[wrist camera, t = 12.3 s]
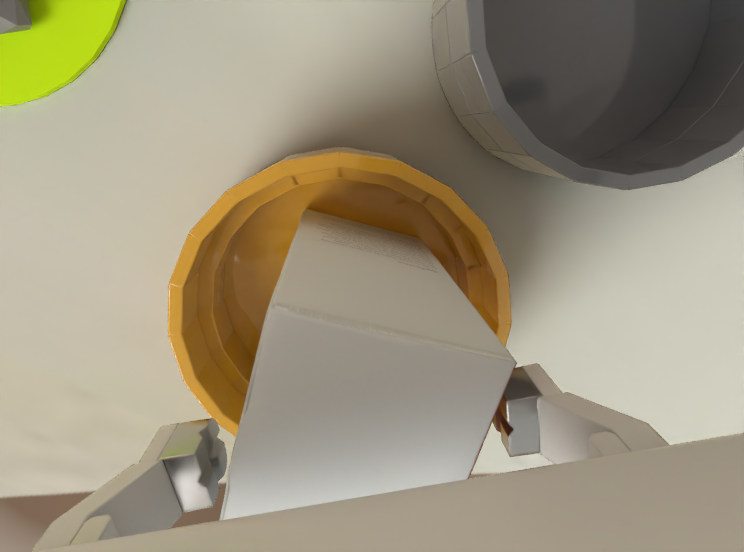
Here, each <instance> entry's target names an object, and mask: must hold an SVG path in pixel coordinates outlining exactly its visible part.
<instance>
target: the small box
mask: <svg viewBox="0 0 744 552" xmlns="http://www.w3.org/2000/svg"><path fill="white" fill-rule="evenodd" d="M516 364H517V363H516V361H515V359H514V358H513V356H512V355H511V354H510V353H509V351H508V350H507V349H506V347H505V346H504V345H503V344H502V342H501V341H500V340H499V339H498V337H497V336H496V335H495V333H494V332H493V331H492V329H491V328H490V327H489V325H488V324H487V323H486V322H485V320H484V319H483V318H482V316H481V315H480V314H479V312H478V311H477V310H476V309H475V307H474V306H473V305H472V304H471V302H470V301H469V300H468V299H467V297H466V296H465V294H464V293H463V292H462V291H461V289H460V288H459V287H458V286H457V284H456V283H455V282H454V280H453V279H452V278H451V276H450V275H449V274H448V273H447V271H446V270H445V269H444V267H443V266H442V265H441V263H440V262H439V261H438V260H437V258H436V257H435V256H434V255H433V253H432V252H431V251H430V249H429V248H428V247H427V246H426V244H425V243H424V242H423V241H422V239H420V238H417V237H413V236H409V235H405V234H401V233H397V232H393V231H389V230H386V229H382V228H378V227H374V226H370V225H366V224H363V223H359V222H355V221H351V220H347V219H343V218H340V217H336V216H332V215H328V214H324V213H321V212H317V211H313V210H309V209H305V210H304V211H303V214H302V217H301V220H300V223H299V225H298V228H297V231H296V234H295V236H294V238H293V241H292V243H291V246H290V249H289V252H288V255H287V257H286V260H285V263H284V266H283V269H282V271H281V274H280V277H279V279H278V282H277V285H276V287H275V290H274V293H273V295H272V298H271V301H270V304H269V307H268V310H267V313H266V317H265V321H264V325H263V329H262V333H261V337H260V341H259V345H258V349H257V354H256V358H255V362H254V366H253V370H252V374H251V378H250V383H249V387H248V391H247V395H246V399H245V403H244V407H243V411H242V416H241V420H240V424H239V428H238V432H237V436H236V440H235V444H234V447H233V452H232V456H231V461H230V465H229V469H228V475H227V484H226V491H225V496H224V501H223V506H222V511H221V516H220V520H225V519H231V518H237V517H243V516H249V515H255V514H261V513H267V512H273V511H279V510H285V509H291V508H297V507H303V506H309V505H315V504H321V503H327V502H333V501H339V500H345V499H351V498H357V497H363V496H369V495H375V494H381V493H387V492H393V491H399V490H405V489H411V488H417V487H423V486H429V485H435V484H441V483H447V482H453V481H459V480H464V479H469V477H470V475H471V472H472V470H473V467H474V465H475V463H476V460H477V458H478V455H479V453H480V450H481V448H482V445H483V442H484V440H485V438H486V436H487V433H488V431H489V428H490V426H491V423H492V421H493V418H494V416H495V413H496V411H497V409H498V406H499V404H500V402H501V399H502V397H503V394H504V392H505V390H506V387H507V385H508V382H509V380H510V377H511V375H512V372H513V370H514V368H515V366H516Z"/></svg>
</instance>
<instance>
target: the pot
mask: <svg viewBox="0 0 744 552" xmlns="http://www.w3.org/2000/svg"><path fill="white" fill-rule="evenodd" d="M432 46H433V53H434V59H435V65H436V70H437V74H438V77H439V80H440V84H441V87H442V90H443V92H444V94H445V96H446V99H447V101H448V103H449V106H450V107H451V109H452V111H453V112H454V115H456V118H457V119H458V120H459V122H460V123H461V124H462V126H463V127H464V128H465V129H466V131H467V132H468V133H469V134H470V135H471V136H472V137H473V138H474V139H475V140H476V141H477V142H478V143H479V144H480V145H481V146H482V147H483V148H484V149H485V150H487V151H488V152H490V153H492V154H494V155H495V156H496V157H498V158H500V159H502V160H504V161H506V162H508V163H510V164H512V165H514V166H515V167H517V168H519V169H523V170H527V171H531V172H535V173H540V174H544V175H548V176H552V177H556V178H561V179H565V180H569V181H573V182H577V183H584V184H590V185H596V186H603V187H609V188H615V189H621V190H632V189H637V188H643V187H649V186H655V185H661V184H666V183H672V182H678V181H682V180H684V179H686V178H688V177H690V176H692V175H694V174H696V173H698V172H700V171H703V170H705V169H707V168H709V167H711V166H713V165H715V164H717V163H719V162H721V161H723V160H725V159H727V158H729V157H731V156H733V155H734V154H735V153H737V152H738V151H739V150H740V149H741V148H742V147H744V0H434V2H433V13H432Z"/></svg>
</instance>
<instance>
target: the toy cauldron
mask: <svg viewBox="0 0 744 552" xmlns="http://www.w3.org/2000/svg"><path fill="white" fill-rule="evenodd" d="M125 2H126V0H0V106H12V105H18V104H22V103H25V102H29V101H32V100H35V99H39V98H42V97H46V96H48V95H50V94H51V93H53V92H55V91H57V90H58V89H60V88H62V87H64V86H65V85H67V84H69V83H71V82H73V81H74V80H75V79H76V78H77V77H78V76H79V75H80V74H81V73H82V72H84V71H85V70H86V69H87V68H88V67H89V66H90V65H91V64H92V63H93V62H94V61H95V60H96V59H97V58H98V56H99V55H100V53H101V52H102V50H103V49H104V47H105V46H106V44H107V43H108V41H109V39H110V38H111V36H112V35H113V33H114V32H115V29H116V27H117V24H118V21H119V18H120V16H121V13H122V10H123V8H124V5H125Z"/></svg>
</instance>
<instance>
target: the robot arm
mask: <svg viewBox="0 0 744 552" xmlns="http://www.w3.org/2000/svg"><path fill="white" fill-rule="evenodd" d="M493 424H494V426H495V428H496V430H497V431H499V432H501V438H502V442H503V444H504V446H505V448H506V450H507V452H508V454H509V456H510V457H514V456H521V455H528V454H535V453H540V454H541V455H542V456H544V457H545V458H547V459H548V460H550V461H551V462H553V463H554V465H548V466H542V467H536V468H530V469H524V470H518V471H512V472H506V473H500V474H494V475H488V476H482V477H476V478H471V479H464V480H459V481H453V482H447V483H441V484H435V485H429V486H423V487H417V488H411V489H405V490H399V491H393V492H387V493H381V494H375V495H369V496H363V497H357V498H351V499H345V500H339V501H333V502H327V503H321V504H315V505H309V506H303V507H297V508H291V509H285V510H279V511H273V512H267V513H261V514H255V515H249V516H243V517H237V518H231V519H225V520H219V521H213V522H207V523H202V524H196V525H190V526H184V527H178V528H172V529H170V528H171V527H172V526H173V525H174V523H175V522H176V521H177V520H178V519H179V518H180V517H181V516H182V514H183V512H188V511H193V510H198V509H203V508H208V507H213V506H214V503H215V500H216V497H217V494H218V491H219V489H220V487H219V484H218V481H219V480H220V479H221V478H222V477H223V476H224V474H225V470H226V465H227V454H226V448H225V445H224V442H223V441H221V440H220V439H219V438H217V435H218V433H219V430H220V429H219V427H218V424H217V421H216V420H215V419H213V418H211V419H204V420H197V421H190V422H183V423H176V424H170V425H165V426H162V427H160V428H159V430H158V432H157V433H156V435H155V437H154V438H153V440H152V442H151V443H150V445H149V446H148V448H147V450H146V451H145V453H144V455H143V456H142V458H141V460H140V461H139V463H138V464H133V465H131V466H130V467H129V468H127V469H126V470H124V471H123V472H122V473H120V474H119V475H117V476H116V477H115V478H113V479H112V480H110V481H109V482H108V483H106V484H105V485H103V486H102V487H101V488H99V489H98V490H97V491H95V492H94V493H92V494H91V495H90V496H88V497H87V498H85V499H84V500H83V501H81V502H80V503H79V504H77V505H76V506H74V507H73V508H72V509H70V510H69V511H67V512H66V513H65V514H63V515H62V516H60V517H59V518H57V519H56V520H55V521H53V522H52V523H51V525H50V526H49V527H48V529H47V530H46V531H45V533H44V534H43V535H42V537H41V538H40V539H39V541H38V542H37V543H36V545H35V546H34V548H33V549H32V550H31V552H744V433H740V434H734V435H728V436H722V437H716V438H710V439H704V440H698V441H692V442H686V443H680V444H674V445H669V444H668V443H667V442H666V441H665V440H664V439H663V438H662V437H661V436H660V435H659V434H658V433H657V432H656V431H655V430H654V429H653V428H652V427H651V426H650V425H649V424H648V423H646V422H643V421H640V420H638V419H635V418H633V417H630V416H628V415H625V414H622V413H620V412H617V411H615V410H612V409H609V408H607V407H604V406H602V405H599V404H597V403H594V402H591V401H589V400H586V399H584V398H581V397H579V396H576V395H573V394H571V393H568V392H565V393H562V392H561V390H560V389H559V388H558V387H557V386H556V384H555V383H554V382H553V381H552V379H551V378H550V377H549V376H548V375H547V373H546V372H545V371H544V370H543V369H542V367H541V366H540V365H539V364H537V363H536V364H531V365H526V366H521V367H517V368H514V370H513V372H512V375H511V377H510V380H509V382H508V385H507V387H506V390H505V392H504V394H503V397H502V399H501V402H500V404H499V406H498V409H497V411H496V413H495V416H494V418H493Z"/></svg>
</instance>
